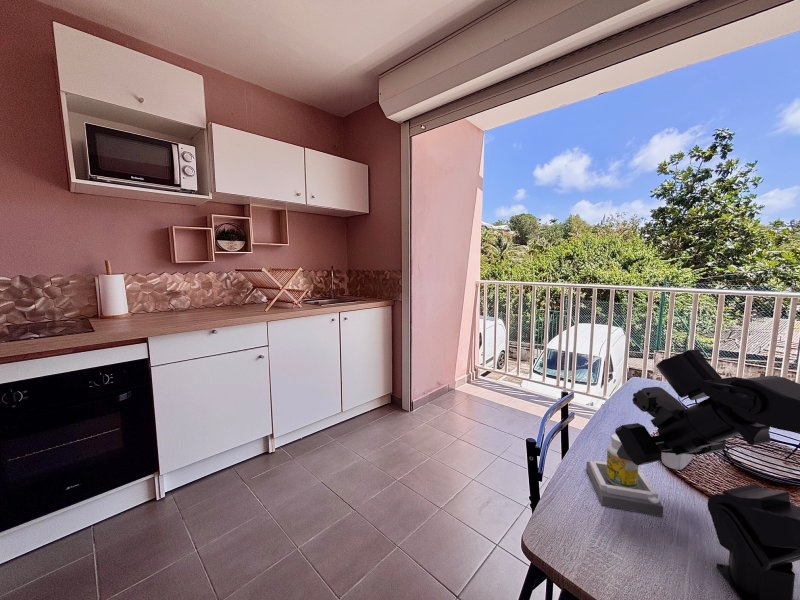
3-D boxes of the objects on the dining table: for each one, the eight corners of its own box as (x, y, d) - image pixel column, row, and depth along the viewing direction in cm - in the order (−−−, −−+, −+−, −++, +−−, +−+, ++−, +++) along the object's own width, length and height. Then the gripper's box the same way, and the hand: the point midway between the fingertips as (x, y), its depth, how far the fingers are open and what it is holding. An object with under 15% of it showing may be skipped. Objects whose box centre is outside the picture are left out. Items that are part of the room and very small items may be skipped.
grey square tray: (662, 516, 59) (663, 500, 59) (602, 505, 62) (602, 490, 62) (636, 477, 71) (637, 463, 71) (586, 469, 74) (586, 456, 74)
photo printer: (673, 450, 81) (676, 404, 80) (695, 458, 78) (698, 410, 77) (658, 464, 76) (661, 414, 75) (681, 473, 72) (684, 421, 71)
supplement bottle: (643, 490, 64) (646, 445, 63) (617, 491, 64) (619, 445, 63) (624, 473, 69) (626, 431, 68) (600, 474, 69) (602, 432, 68)
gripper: (709, 374, 58) (648, 408, 70) (626, 382, 54) (576, 417, 66) (763, 436, 51) (685, 462, 63) (673, 451, 47) (607, 476, 59)
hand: (637, 452), depth 63 cm, fingers open, 9 cm apart
